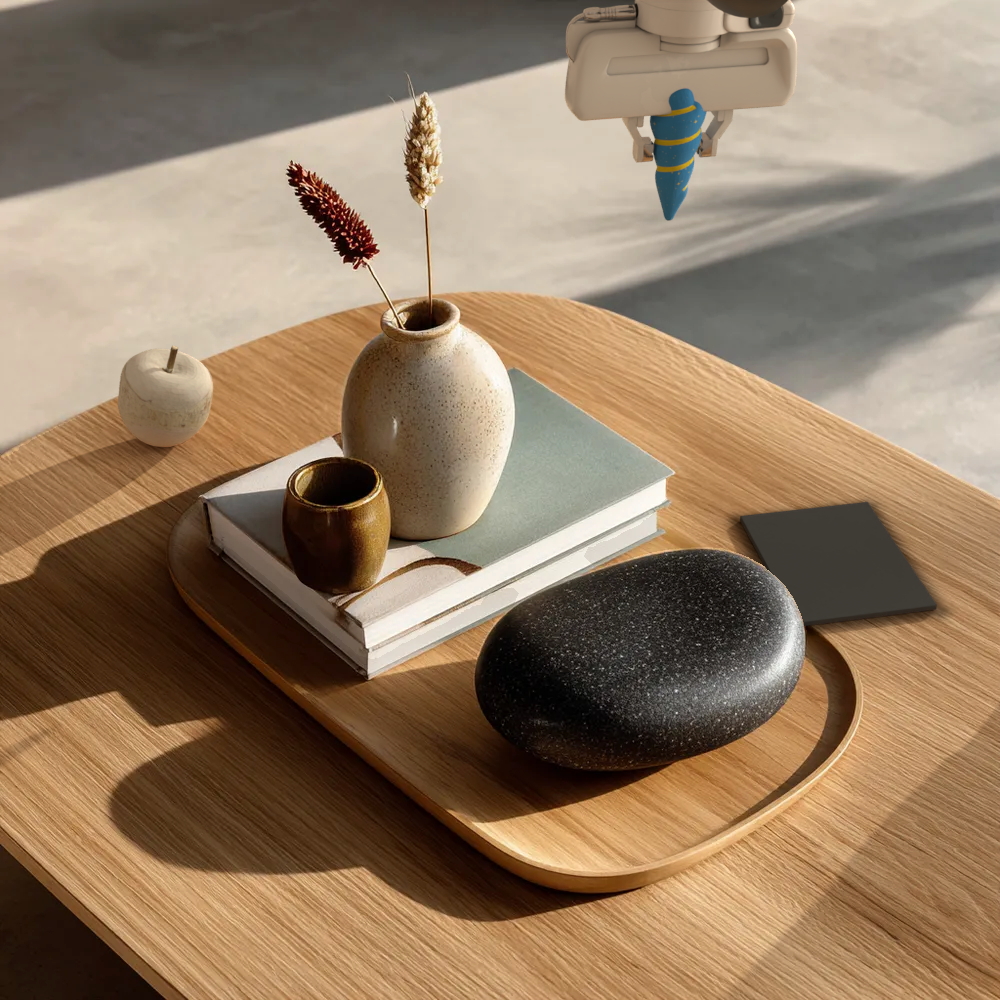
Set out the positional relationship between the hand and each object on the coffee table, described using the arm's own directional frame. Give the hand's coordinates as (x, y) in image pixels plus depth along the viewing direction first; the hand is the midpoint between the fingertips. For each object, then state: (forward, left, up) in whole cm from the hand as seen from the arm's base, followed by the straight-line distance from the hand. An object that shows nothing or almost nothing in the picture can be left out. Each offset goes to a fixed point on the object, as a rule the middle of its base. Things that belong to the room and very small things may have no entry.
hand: (674, 157), depth 121 cm
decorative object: (+48, +2, -24) cm, 54 cm away
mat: (-7, +30, -24) cm, 39 cm away
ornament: (0, 0, -6) cm, 6 cm away
